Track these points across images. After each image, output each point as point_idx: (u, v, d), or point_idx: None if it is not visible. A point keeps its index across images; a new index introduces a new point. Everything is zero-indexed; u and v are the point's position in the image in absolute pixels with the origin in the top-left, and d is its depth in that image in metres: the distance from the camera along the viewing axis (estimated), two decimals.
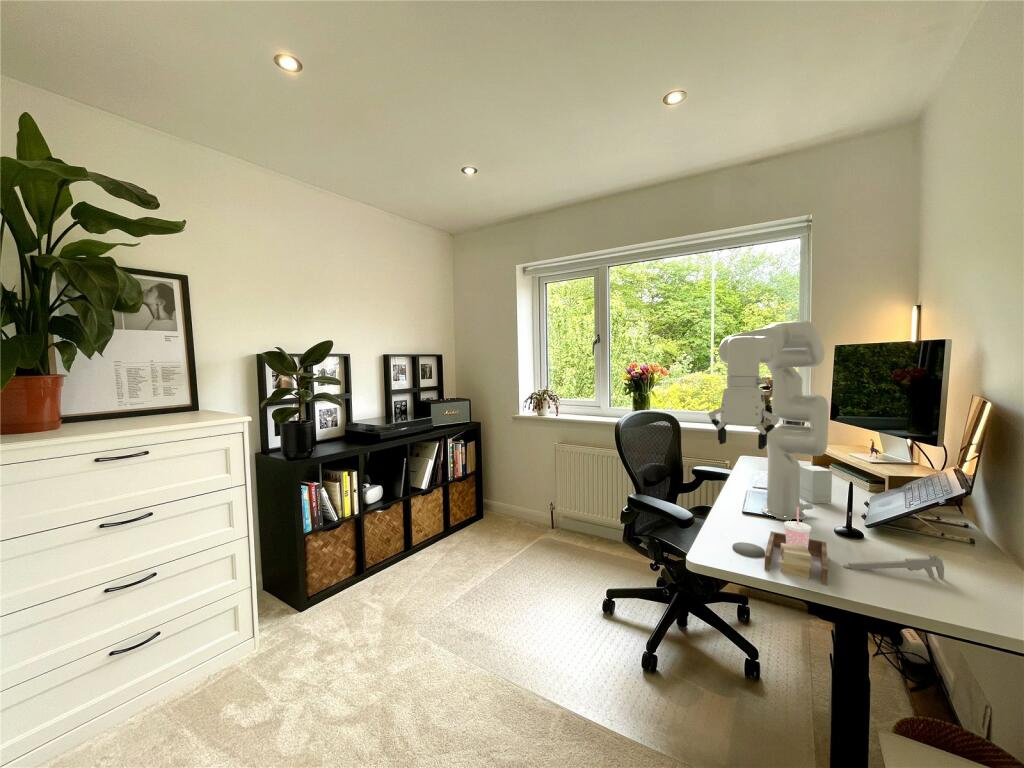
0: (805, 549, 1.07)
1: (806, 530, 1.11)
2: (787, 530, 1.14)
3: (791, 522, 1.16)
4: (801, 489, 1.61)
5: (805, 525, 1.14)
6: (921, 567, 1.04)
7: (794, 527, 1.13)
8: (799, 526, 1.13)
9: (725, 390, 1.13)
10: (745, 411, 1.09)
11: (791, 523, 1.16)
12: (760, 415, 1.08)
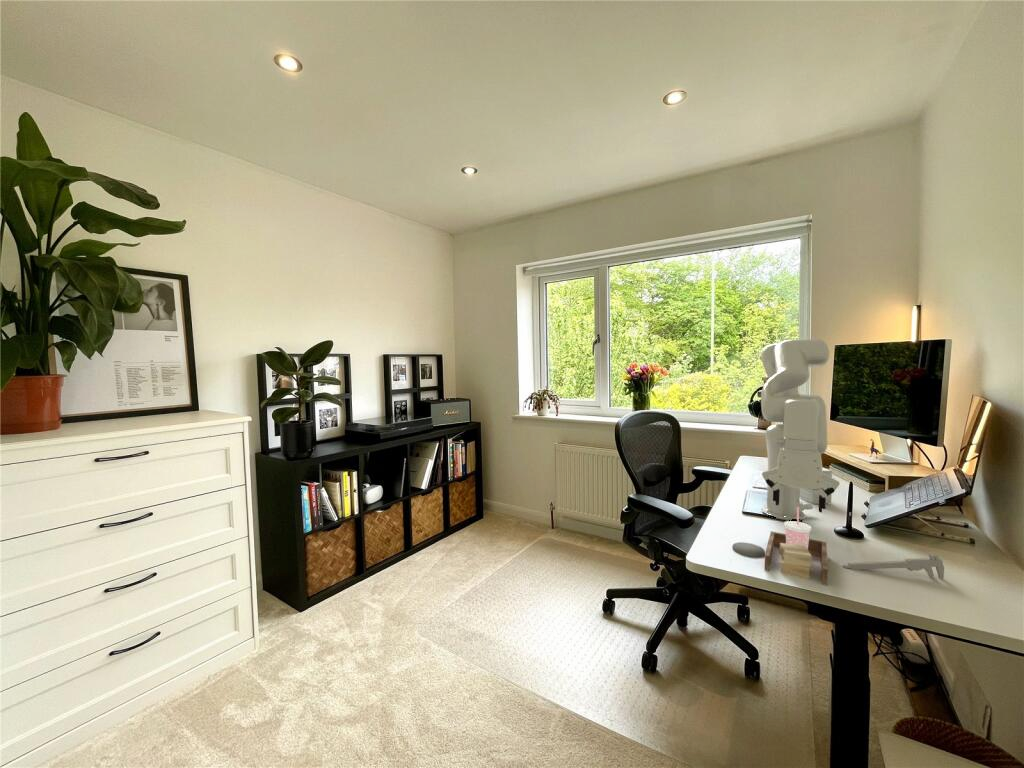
0: (805, 549, 1.07)
1: (806, 530, 1.11)
2: (787, 530, 1.14)
3: (791, 522, 1.16)
4: (801, 489, 1.61)
5: (805, 525, 1.14)
6: (921, 567, 1.04)
7: (794, 527, 1.13)
8: (799, 526, 1.13)
9: None
10: None
11: (791, 523, 1.16)
12: None
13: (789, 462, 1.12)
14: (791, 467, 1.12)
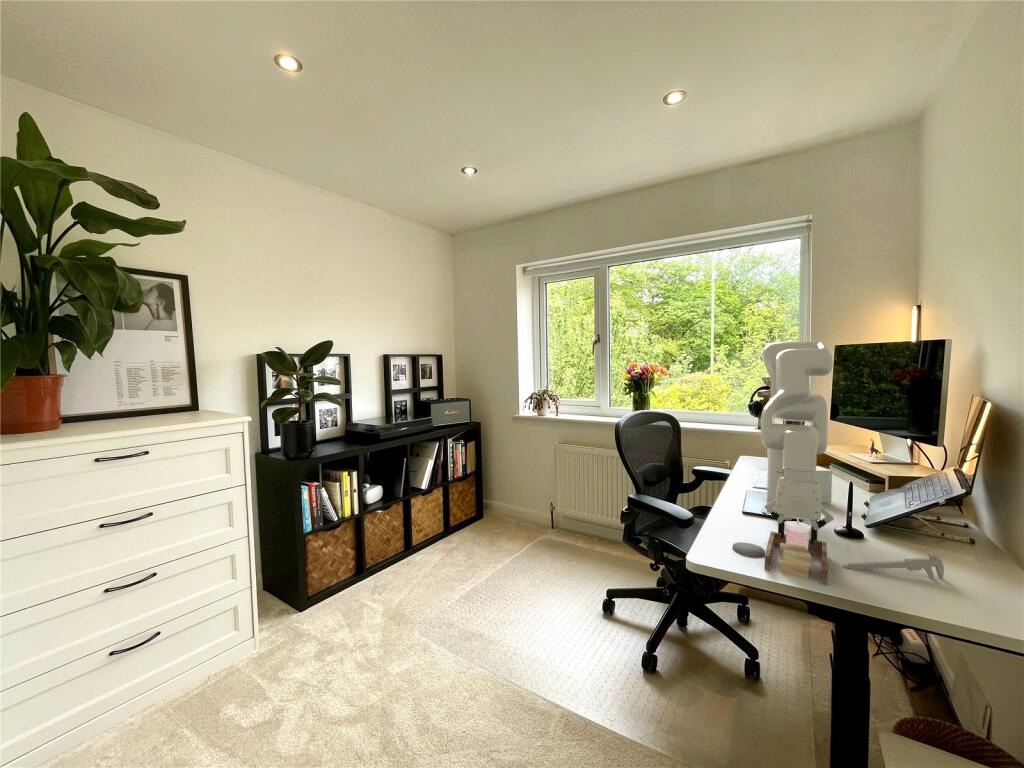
0: (805, 549, 1.07)
1: (806, 530, 1.11)
2: (787, 530, 1.14)
3: (791, 522, 1.16)
4: None
5: (805, 525, 1.14)
6: (921, 567, 1.04)
7: (794, 527, 1.13)
8: (799, 526, 1.13)
9: None
10: None
11: (791, 523, 1.16)
12: None
13: (788, 492, 1.13)
14: (790, 497, 1.12)
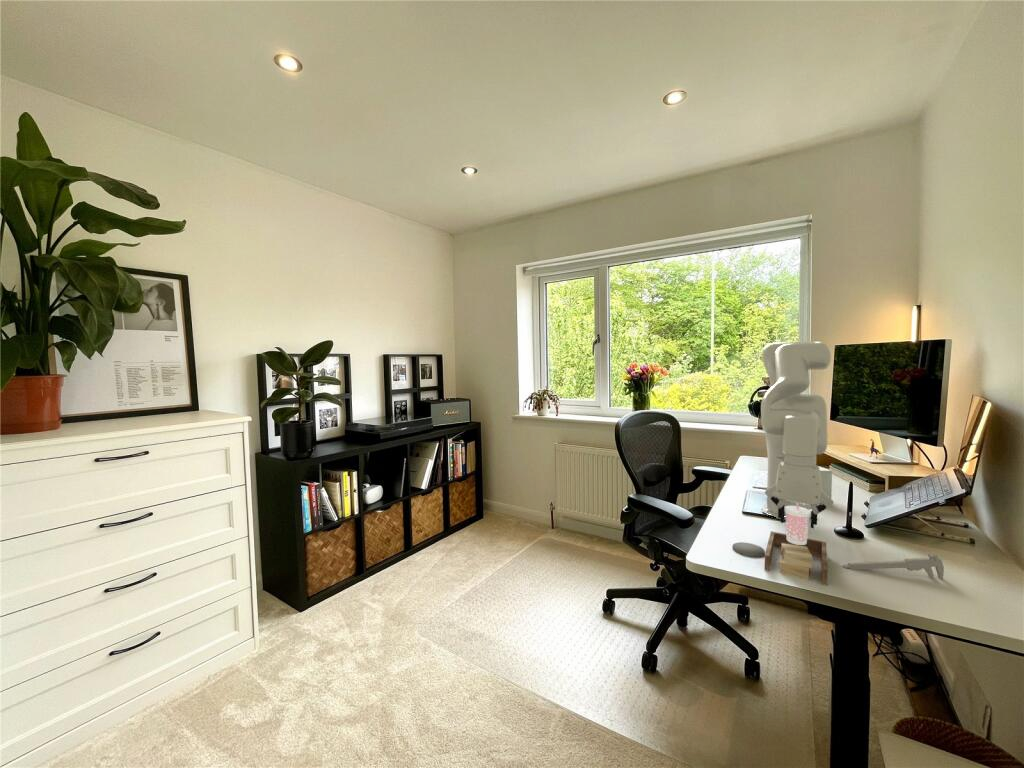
0: (806, 549, 1.07)
1: (806, 514, 1.12)
2: (787, 515, 1.15)
3: (791, 507, 1.17)
4: None
5: (805, 510, 1.15)
6: (921, 567, 1.04)
7: (794, 512, 1.13)
8: (799, 511, 1.14)
9: None
10: None
11: (791, 508, 1.16)
12: None
13: (788, 477, 1.13)
14: (791, 482, 1.13)
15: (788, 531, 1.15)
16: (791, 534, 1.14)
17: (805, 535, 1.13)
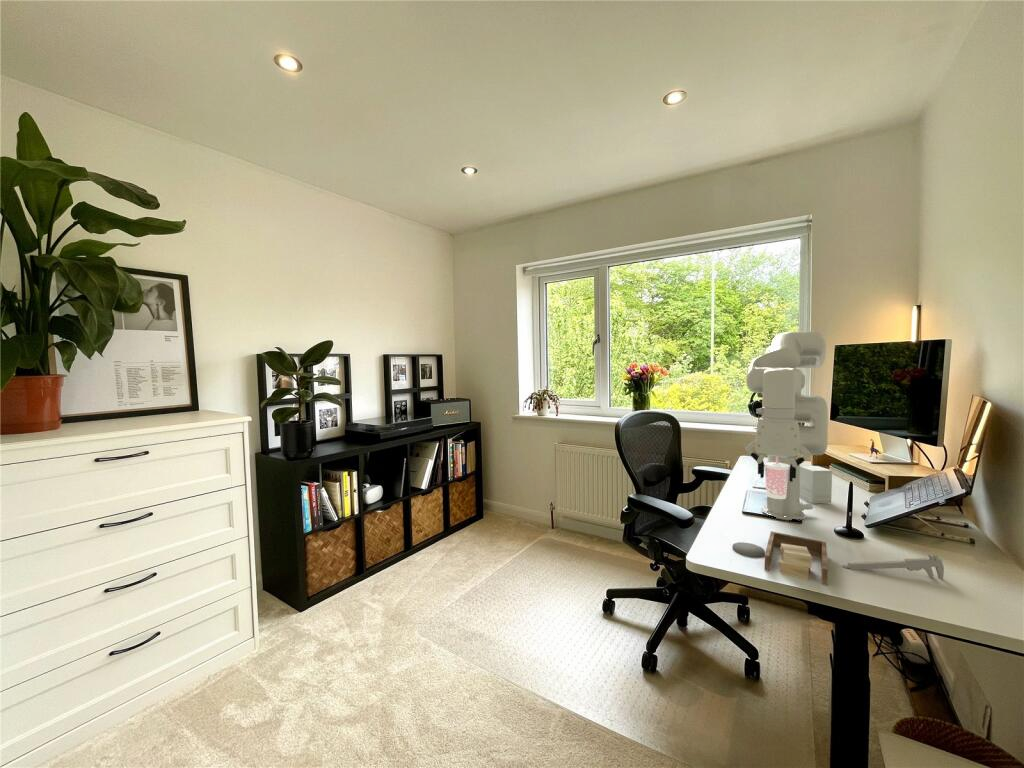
0: (805, 550, 1.07)
1: (785, 468, 1.12)
2: (767, 469, 1.15)
3: (771, 463, 1.17)
4: (801, 489, 1.61)
5: (784, 464, 1.15)
6: (921, 567, 1.04)
7: (774, 466, 1.14)
8: (778, 465, 1.14)
9: None
10: None
11: (771, 463, 1.17)
12: None
13: (767, 431, 1.14)
14: (770, 435, 1.13)
15: (768, 486, 1.15)
16: (770, 489, 1.14)
17: (784, 489, 1.13)
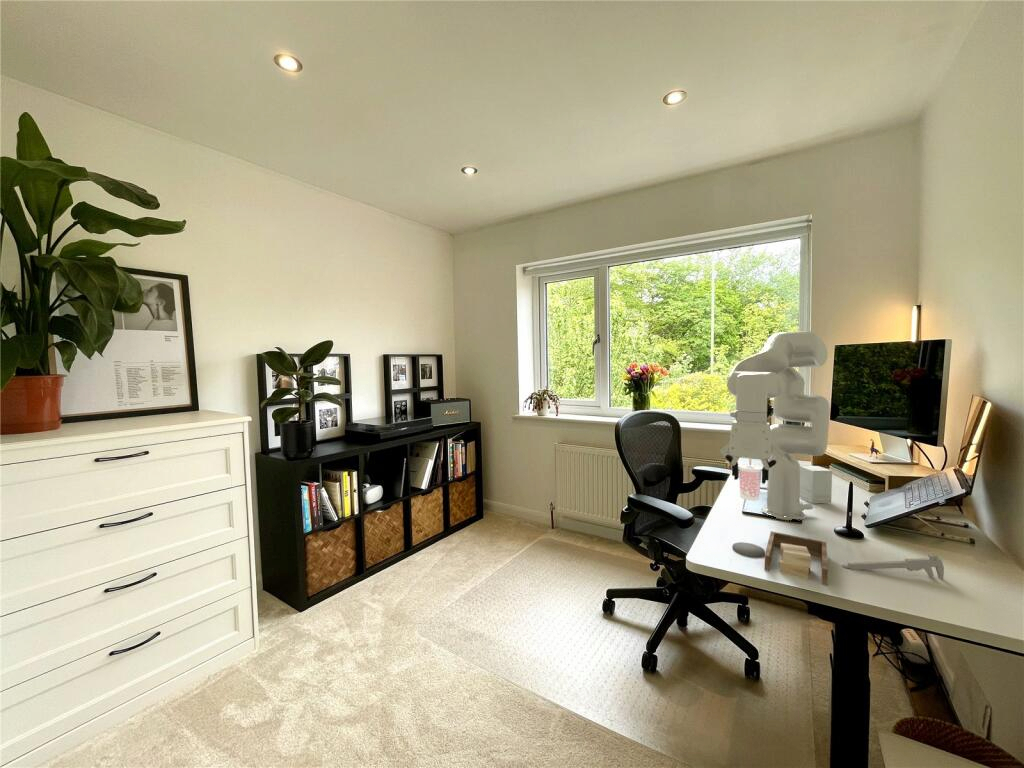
0: (805, 549, 1.07)
1: (757, 470, 1.15)
2: (740, 471, 1.18)
3: (745, 465, 1.20)
4: (801, 489, 1.61)
5: (757, 467, 1.17)
6: (921, 567, 1.03)
7: (746, 468, 1.16)
8: (751, 467, 1.16)
9: None
10: None
11: (744, 465, 1.19)
12: None
13: (740, 434, 1.16)
14: (743, 438, 1.16)
15: (741, 488, 1.18)
16: (743, 491, 1.17)
17: (757, 491, 1.16)
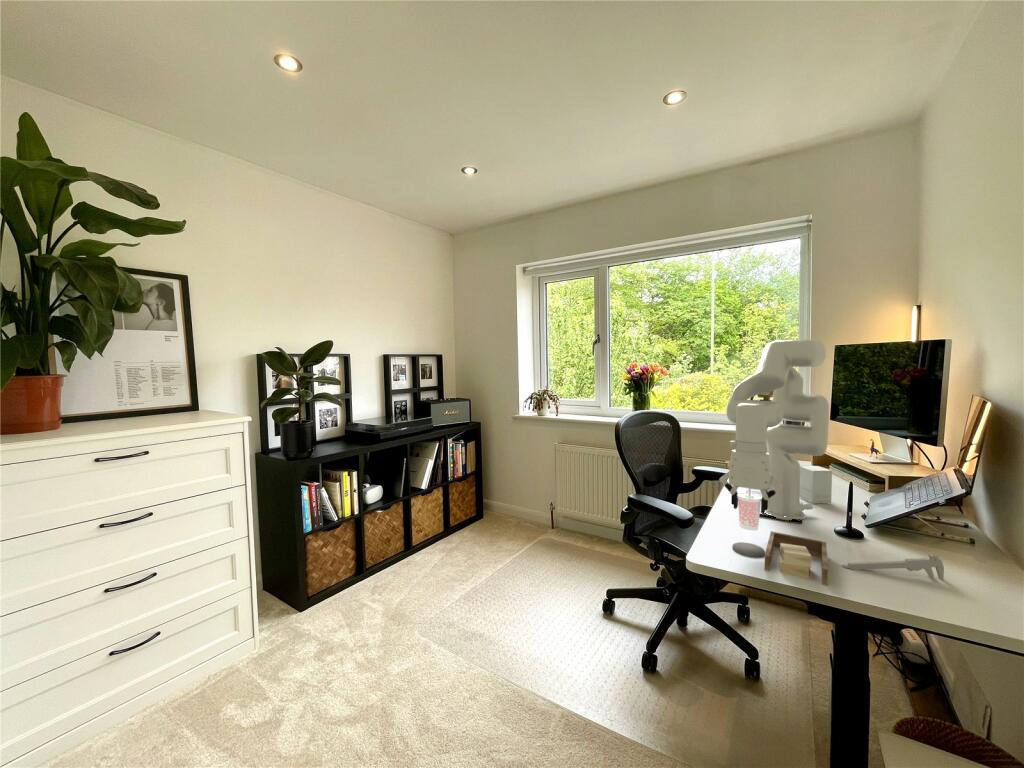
0: (805, 549, 1.07)
1: (756, 500, 1.15)
2: (739, 501, 1.18)
3: (744, 494, 1.20)
4: (801, 489, 1.61)
5: (757, 496, 1.18)
6: (921, 567, 1.03)
7: (746, 497, 1.17)
8: (750, 497, 1.17)
9: None
10: None
11: (744, 494, 1.19)
12: None
13: (740, 463, 1.17)
14: (742, 468, 1.16)
15: (740, 517, 1.18)
16: (743, 520, 1.17)
17: (756, 520, 1.16)
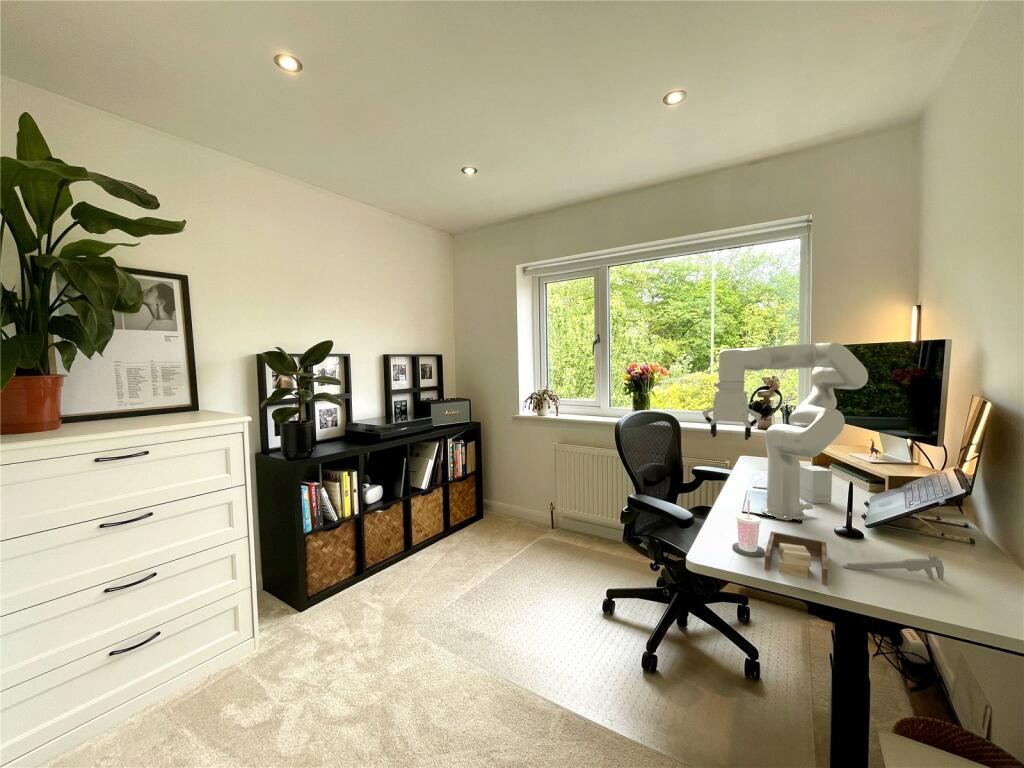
0: (804, 549, 1.07)
1: (755, 522, 1.16)
2: (738, 522, 1.19)
3: (743, 515, 1.21)
4: (801, 489, 1.61)
5: (756, 517, 1.18)
6: (920, 568, 1.03)
7: (744, 519, 1.17)
8: (749, 518, 1.17)
9: None
10: None
11: (743, 515, 1.20)
12: None
13: (722, 400, 1.37)
14: (724, 404, 1.37)
15: (739, 538, 1.19)
16: (742, 541, 1.18)
17: (755, 542, 1.17)
